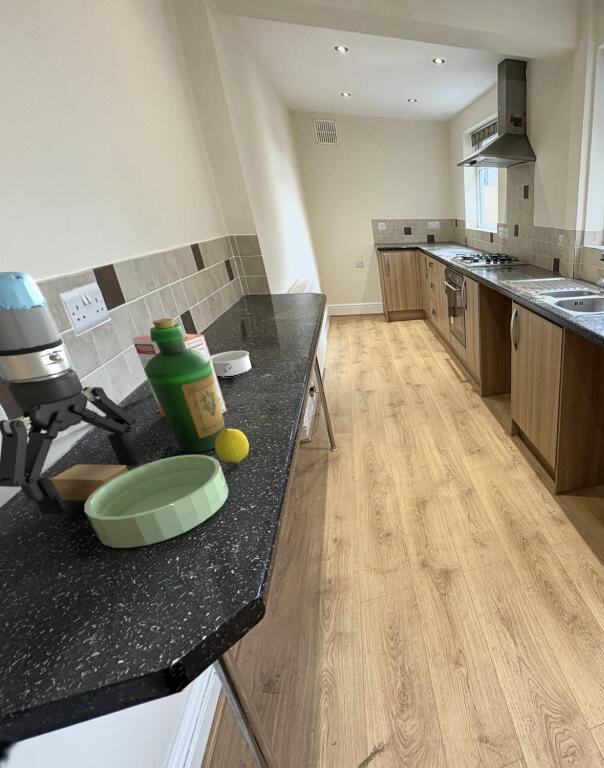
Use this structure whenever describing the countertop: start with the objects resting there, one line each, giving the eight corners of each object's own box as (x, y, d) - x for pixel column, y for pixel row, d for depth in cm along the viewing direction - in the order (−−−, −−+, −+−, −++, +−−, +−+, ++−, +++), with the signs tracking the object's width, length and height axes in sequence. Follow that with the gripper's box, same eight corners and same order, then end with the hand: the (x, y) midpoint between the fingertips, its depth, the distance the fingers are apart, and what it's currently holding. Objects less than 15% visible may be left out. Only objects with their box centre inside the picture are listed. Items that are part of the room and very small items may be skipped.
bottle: (234, 447, 89) (195, 322, 78) (173, 463, 84) (122, 330, 73) (232, 428, 97) (197, 312, 87) (176, 441, 92) (131, 318, 81)
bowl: (67, 549, 62) (50, 518, 60) (161, 480, 78) (150, 453, 76) (178, 552, 62) (165, 520, 59) (250, 482, 78) (242, 455, 75)
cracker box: (160, 418, 102) (129, 337, 94) (181, 407, 108) (154, 330, 100) (209, 422, 100) (181, 340, 92) (228, 411, 106) (204, 333, 97)
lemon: (248, 452, 87) (239, 419, 84) (256, 463, 84) (246, 428, 81) (218, 462, 84) (207, 428, 81) (224, 474, 80) (213, 438, 77)
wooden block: (65, 507, 71) (50, 478, 69) (90, 491, 75) (76, 464, 73) (115, 507, 71) (102, 479, 69) (137, 492, 75) (125, 464, 73)
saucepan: (206, 391, 117) (200, 373, 115) (213, 370, 134) (208, 354, 131) (252, 384, 123) (247, 366, 120) (253, 364, 139) (249, 348, 137)
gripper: (-38, 410, 52) (36, 539, 60) (134, 350, 75) (171, 449, 83) (-94, 409, 52) (-12, 537, 61) (95, 349, 76) (135, 448, 84)
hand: (94, 486), depth 72 cm, fingers open, 13 cm apart
